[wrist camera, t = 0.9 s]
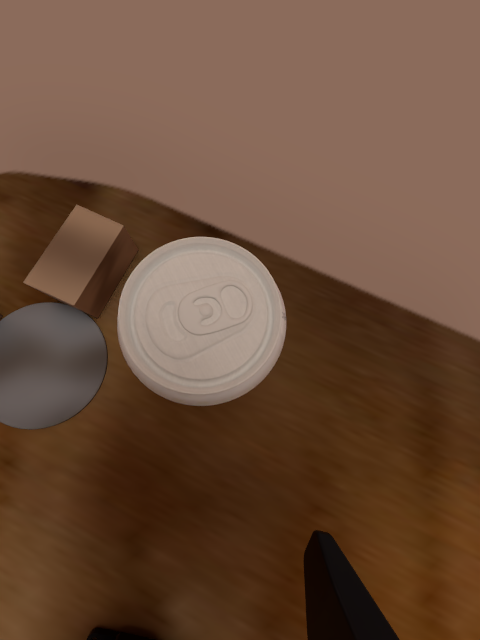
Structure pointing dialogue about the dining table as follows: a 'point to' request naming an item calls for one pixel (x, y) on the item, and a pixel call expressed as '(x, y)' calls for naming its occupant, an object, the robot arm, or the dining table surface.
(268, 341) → the beer can
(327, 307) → the dining table surface
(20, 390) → the beam vee
